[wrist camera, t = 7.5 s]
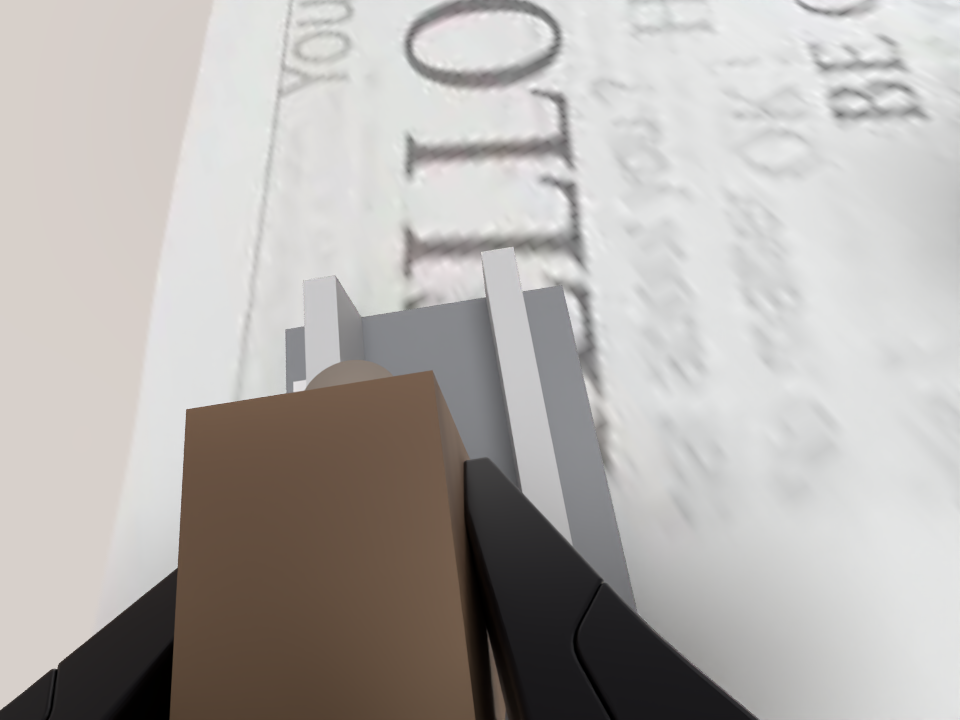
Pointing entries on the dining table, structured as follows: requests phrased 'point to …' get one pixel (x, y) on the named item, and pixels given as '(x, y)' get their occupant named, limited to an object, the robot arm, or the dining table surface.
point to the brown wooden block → (329, 558)
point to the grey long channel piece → (489, 390)
